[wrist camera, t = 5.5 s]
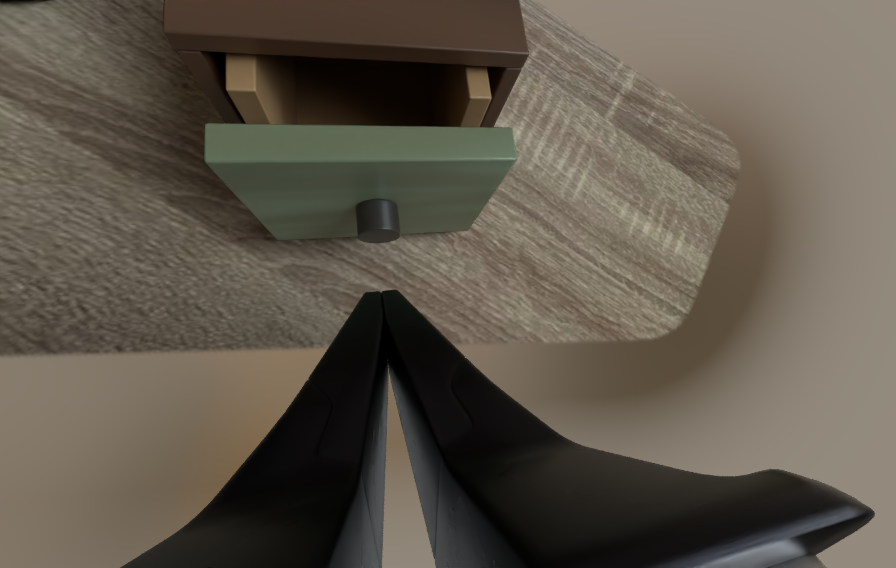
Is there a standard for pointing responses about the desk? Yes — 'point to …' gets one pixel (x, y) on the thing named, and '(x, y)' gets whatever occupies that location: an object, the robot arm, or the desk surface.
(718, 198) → the desk surface
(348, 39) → the cabinet
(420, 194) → the drawer
